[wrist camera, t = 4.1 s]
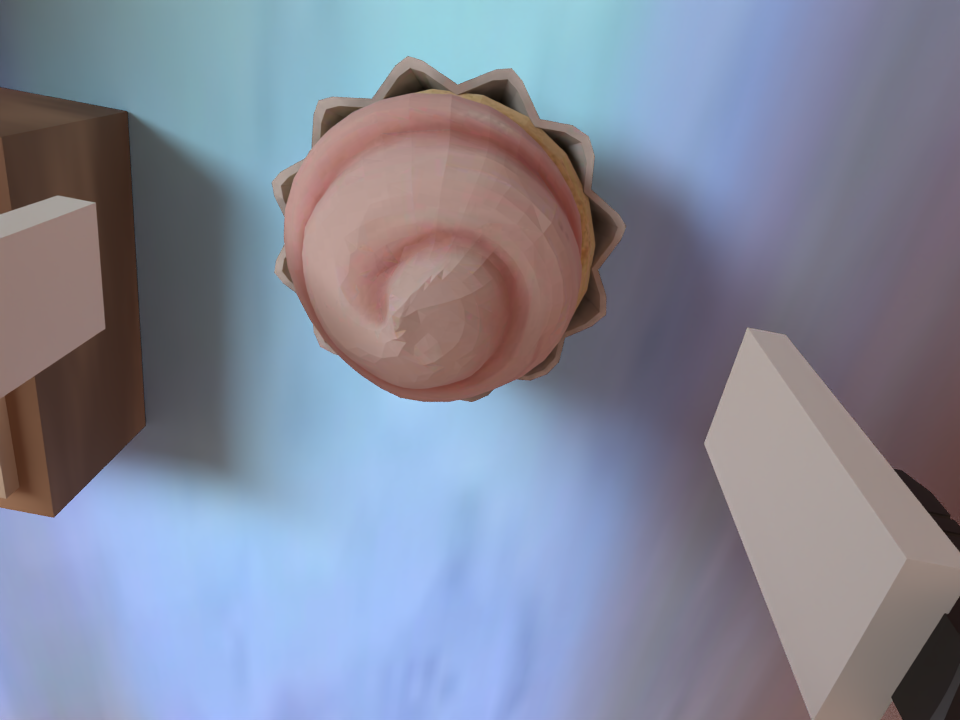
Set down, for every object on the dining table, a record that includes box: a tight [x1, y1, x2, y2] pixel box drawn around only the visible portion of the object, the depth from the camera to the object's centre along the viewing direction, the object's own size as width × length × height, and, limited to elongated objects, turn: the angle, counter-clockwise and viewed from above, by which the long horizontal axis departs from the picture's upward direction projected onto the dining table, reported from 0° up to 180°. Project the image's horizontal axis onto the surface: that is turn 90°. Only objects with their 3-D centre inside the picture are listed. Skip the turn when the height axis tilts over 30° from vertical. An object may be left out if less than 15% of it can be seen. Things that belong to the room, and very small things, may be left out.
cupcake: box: [272, 56, 626, 402], centre depth 18 cm, size 9×9×10 cm
